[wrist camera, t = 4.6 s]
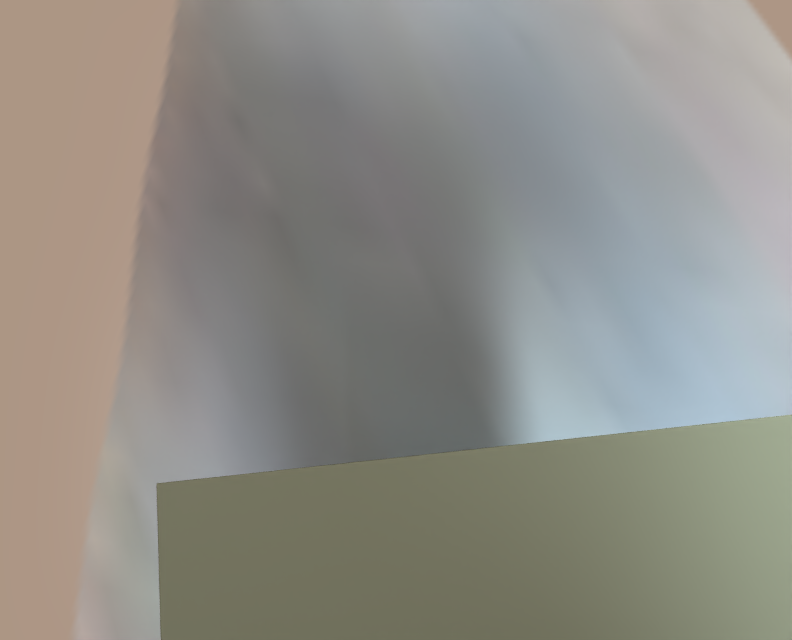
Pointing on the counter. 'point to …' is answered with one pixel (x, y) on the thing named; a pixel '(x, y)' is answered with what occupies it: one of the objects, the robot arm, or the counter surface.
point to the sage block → (494, 543)
